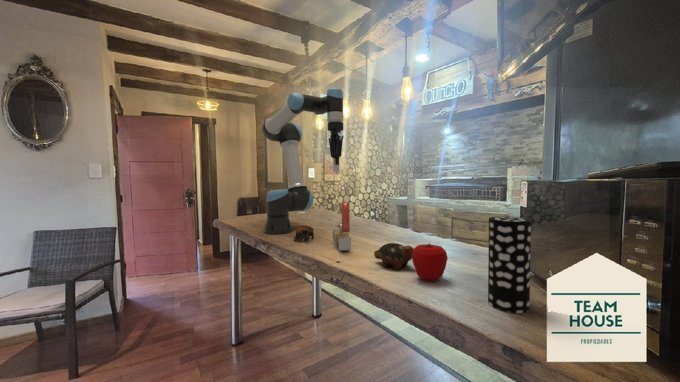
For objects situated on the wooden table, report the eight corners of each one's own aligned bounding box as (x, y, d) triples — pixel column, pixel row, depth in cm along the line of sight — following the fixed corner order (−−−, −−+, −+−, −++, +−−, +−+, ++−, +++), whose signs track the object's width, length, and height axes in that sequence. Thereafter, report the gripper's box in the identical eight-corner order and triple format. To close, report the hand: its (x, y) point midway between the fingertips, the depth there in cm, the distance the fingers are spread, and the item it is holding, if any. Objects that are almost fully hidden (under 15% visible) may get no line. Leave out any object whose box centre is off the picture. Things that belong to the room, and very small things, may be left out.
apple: (450, 277, 86) (450, 240, 86) (443, 288, 78) (443, 248, 77) (416, 272, 91) (416, 237, 91) (407, 281, 83) (407, 244, 82)
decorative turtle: (410, 274, 89) (408, 248, 89) (368, 269, 98) (365, 245, 98) (422, 264, 97) (420, 241, 96) (382, 260, 106) (380, 238, 106)
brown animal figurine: (289, 241, 140) (294, 225, 143) (306, 247, 144) (310, 232, 147) (300, 239, 130) (305, 222, 134) (317, 246, 134) (322, 229, 138)
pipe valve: (332, 242, 134) (331, 224, 133) (344, 241, 135) (343, 223, 134) (338, 253, 115) (337, 232, 115) (352, 252, 116) (351, 231, 115)
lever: (337, 226, 125) (336, 200, 125) (344, 225, 126) (343, 200, 125) (342, 233, 110) (342, 203, 110) (350, 232, 111) (350, 203, 110)
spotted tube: (514, 296, 72) (515, 216, 71) (538, 312, 63) (540, 221, 62) (481, 297, 71) (481, 216, 70) (501, 314, 63) (502, 222, 62)
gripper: (348, 120, 134) (349, 171, 135) (337, 124, 146) (338, 172, 147) (333, 119, 131) (334, 171, 132) (323, 124, 143) (324, 172, 144)
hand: (336, 171), depth 140 cm, fingers closed
